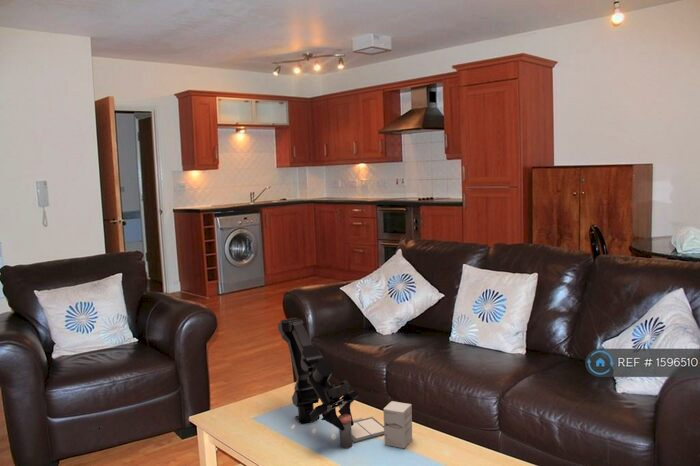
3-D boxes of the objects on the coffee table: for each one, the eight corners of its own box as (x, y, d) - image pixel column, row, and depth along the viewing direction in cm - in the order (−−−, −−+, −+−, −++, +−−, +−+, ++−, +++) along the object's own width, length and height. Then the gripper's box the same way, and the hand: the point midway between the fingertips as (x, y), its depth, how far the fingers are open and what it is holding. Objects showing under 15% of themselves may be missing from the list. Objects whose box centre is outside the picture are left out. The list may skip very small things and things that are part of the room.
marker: (337, 444, 197) (336, 415, 196) (349, 441, 199) (347, 412, 197) (343, 449, 193) (341, 420, 192) (354, 446, 195) (353, 417, 194)
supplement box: (383, 445, 195) (382, 408, 193) (393, 435, 201) (391, 400, 200) (404, 449, 191) (403, 412, 190) (413, 439, 198) (411, 403, 196)
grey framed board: (337, 427, 210) (336, 423, 210) (372, 418, 216) (372, 414, 215) (354, 443, 197) (354, 439, 197) (391, 433, 203) (390, 429, 203)
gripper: (313, 383, 189) (340, 425, 183) (353, 367, 203) (379, 405, 196) (298, 401, 195) (323, 442, 189) (337, 384, 209) (362, 422, 203)
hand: (348, 427), depth 194 cm, fingers closed on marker, 4 cm apart
